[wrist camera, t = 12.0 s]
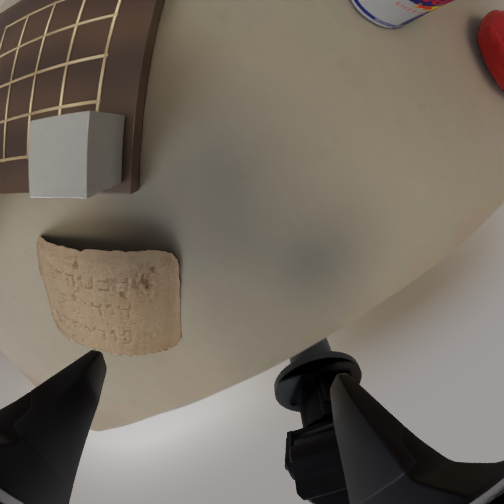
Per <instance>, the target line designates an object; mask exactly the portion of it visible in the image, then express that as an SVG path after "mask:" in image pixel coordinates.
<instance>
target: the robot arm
mask: <svg viewBox="0 0 504 504" xmlns="http://www.w3.org/2000/svg"><path fill="white" fill-rule="evenodd" d="M105 375H106V364H105V361H104V357H103V354H102V353H101V352H99V351H95V350H91V351H89V352H88V353H86V354H85V355H83V356H82V357H81V358H79V359H78V360H76V361H75V362H73V363H72V364H70V365H69V366H67V367H66V368H64V369H63V370H61V371H60V372H58V373H57V374H55V375H54V376H52V377H51V378H49V379H48V380H46V381H45V382H44V383H42V384H41V385H39V386H38V387H36V388H35V389H33V390H32V391H31V392H29V393H27V394H26V395H24V396H23V397H21V398H20V399H18V400H17V401H15V402H13V403H12V404H10V405H8V406H6V407H4V408H3V409H1V410H0V504H69V500H70V496H71V492H72V488H73V483H74V480H75V476H76V472H77V468H78V465H79V461H80V458H81V455H82V451H83V448H84V445H85V441H86V438H87V435H88V432H89V429H90V426H91V423H92V420H93V417H94V414H95V412H96V409H97V406H98V403H99V399H100V395H101V390H102V386H103V382H104V378H105ZM351 375H352V374H351V371H350V370H343V371H312V372H301V373H300V374H299V377H298V379H297V382H296V385H295V388H294V391H293V393H292V396H291V399H290V402H289V403H290V406H299V408H300V413H301V419H302V424H303V428H302V429H299V430H295V431H290V432H287V439H286V454H285V469H286V470H288V471H289V473H290V475H291V477H292V478H293V479H294V480H295V482H296V490H297V494H298V495H299V496H300V497H301V498H302V499H303V500H308V501H309V502H311V503H312V504H504V461H501V462H497V463H463V462H454V461H452V460H449V459H447V458H446V457H444V456H443V455H441V454H440V453H438V452H437V451H435V450H434V449H433V448H431V447H429V446H428V445H427V444H425V443H424V442H423V441H421V440H420V439H419V438H418V437H416V436H415V435H414V434H413V433H412V432H411V431H409V430H408V429H407V428H406V427H404V425H403V424H402V423H400V422H399V421H398V420H397V419H396V418H395V417H394V416H393V415H392V414H391V413H389V412H388V411H387V410H386V409H385V408H384V407H383V406H382V405H381V404H380V403H379V402H378V401H376V400H375V399H374V398H373V397H372V396H371V395H370V394H369V393H368V392H367V391H366V390H365V389H364V388H362V387H361V386H360V385H359V384H358V383H357V382H356V381H355V380H354V379H353V378H352V377H351Z"/></svg>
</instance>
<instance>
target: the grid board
mask: <svg viewBox="0 0 504 504" xmlns="http://www.w3.org/2000/svg"><path fill="white" fill-rule="evenodd" d="M163 3H164V0H22V1H20V2H18V3H17V4H15V5H13V6H12V7H10V8H8V9H7V10H5V11H4V12H2V13H0V194H1V193H29V166H28V155H29V129H30V121H32V120H36V119H41V118H46V117H51V116H57V115H62V114H68V113H75V112H82V111H89V110H90V111H98V112H106V113H113V114H120V115H125V122H124V134H123V149H122V176H121V184H119V185H116V186H114V187H112V188H109V189H107V190H105V191H102V192H100V193H117V194H132V193H134V192H136V191H138V190H139V165H140V147H141V134H142V122H143V112H144V103H145V95H146V88H147V81H148V74H149V68H150V62H151V57H152V51H153V46H154V41H155V37H156V32H157V27H158V23H159V19H160V15H161V11H162V7H163Z"/></svg>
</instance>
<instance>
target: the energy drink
mask: <svg viewBox="0 0 504 504" xmlns="http://www.w3.org/2000/svg"><path fill="white" fill-rule="evenodd" d="M351 1H352V3H353V4H354V6H355V7H356V8H357V10H358V11H359V12H360V13H361V14H362V15H363V16H365V17H366V18H367V19H369V20H370V21H372V22H374V23H375V24H378V25H380V26H383V27H386V28H392V29H393V28H400V27H403V26H404V25H406V24H408V23H410V22H412V21H413V20H415V19H417V18H419V17H421V16H423V15H425V14H427V13H429V12H431V11H433V10H435V9H437V8H439V7H441V6H443V5H445V4H447V3H449V2H452V1H454V0H351Z"/></svg>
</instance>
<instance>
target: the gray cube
mask: <svg viewBox="0 0 504 504" xmlns="http://www.w3.org/2000/svg"><path fill="white" fill-rule="evenodd" d="M124 122H125V115H120V114H113V113H106V112H98V111H90V110H89V111H82V112H75V113H68V114H62V115H57V116H51V117H46V118H41V119H36V120H32V121H30V129H29V155H28V166H29V193H30V198H89V197H91V196H93V195H95V194H98V193H100V192H102V191H105V190H107V189H109V188H112V187H114V186H116V185H119V184H121V176H122V149H123V134H124Z"/></svg>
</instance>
